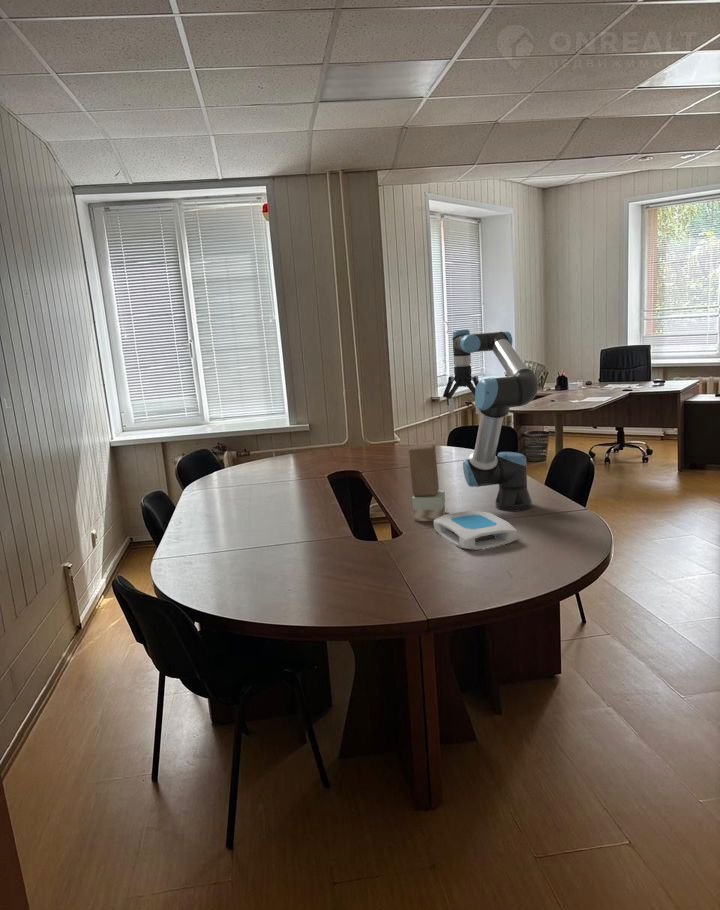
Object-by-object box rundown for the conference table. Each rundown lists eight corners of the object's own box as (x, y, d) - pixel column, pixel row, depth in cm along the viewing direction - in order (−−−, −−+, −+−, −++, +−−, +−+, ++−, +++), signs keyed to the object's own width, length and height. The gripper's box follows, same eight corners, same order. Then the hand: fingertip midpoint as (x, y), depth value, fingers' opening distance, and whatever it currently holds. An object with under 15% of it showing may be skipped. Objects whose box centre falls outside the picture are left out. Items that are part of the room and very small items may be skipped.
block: (436, 495, 271) (432, 447, 268) (412, 497, 273) (407, 449, 270) (439, 490, 281) (435, 443, 277) (415, 491, 283) (411, 445, 280)
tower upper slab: (445, 501, 282) (444, 490, 281) (441, 509, 270) (441, 497, 269) (417, 501, 285) (416, 490, 284) (412, 509, 273) (412, 498, 272)
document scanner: (465, 553, 233) (464, 536, 232) (433, 531, 259) (432, 516, 258) (518, 543, 239) (518, 526, 237) (481, 523, 265) (481, 508, 264)
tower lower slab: (445, 512, 283) (444, 501, 282) (443, 521, 271) (442, 509, 270) (417, 513, 285) (416, 502, 284) (414, 521, 274) (413, 510, 273)
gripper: (492, 364, 286) (493, 412, 290) (442, 365, 302) (445, 411, 306) (483, 365, 281) (485, 415, 285) (433, 366, 296) (436, 413, 301)
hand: (464, 413), depth 295 cm, fingers open, 13 cm apart
